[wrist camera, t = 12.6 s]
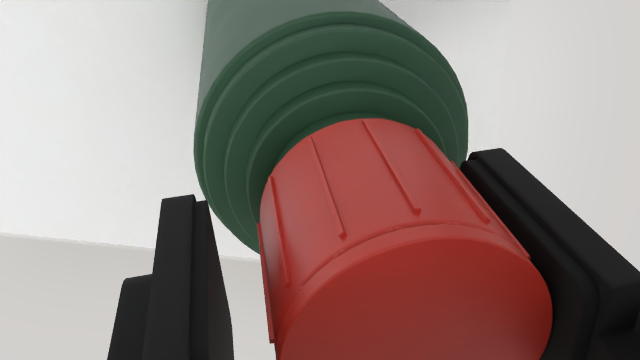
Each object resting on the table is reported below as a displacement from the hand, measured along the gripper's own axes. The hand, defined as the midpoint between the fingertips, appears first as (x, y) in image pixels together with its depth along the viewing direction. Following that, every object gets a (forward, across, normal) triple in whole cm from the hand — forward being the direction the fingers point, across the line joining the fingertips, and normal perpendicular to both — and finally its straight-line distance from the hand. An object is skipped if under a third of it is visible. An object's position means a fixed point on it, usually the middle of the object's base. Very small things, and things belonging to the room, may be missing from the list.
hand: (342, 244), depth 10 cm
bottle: (+17, -1, 0) cm, 17 cm away
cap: (0, 0, 0) cm, 1 cm away
